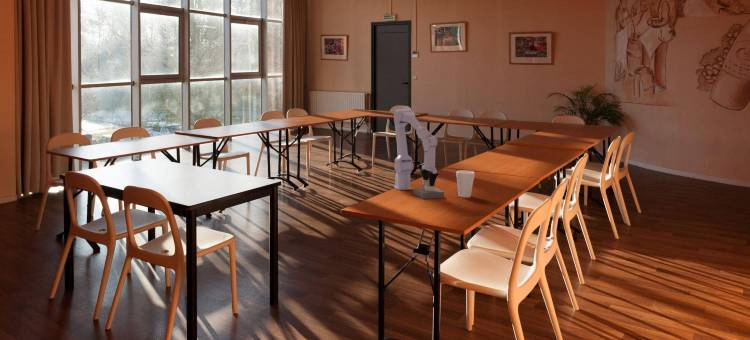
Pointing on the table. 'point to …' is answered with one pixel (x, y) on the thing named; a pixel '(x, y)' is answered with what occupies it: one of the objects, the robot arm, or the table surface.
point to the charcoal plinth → (428, 193)
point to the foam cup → (465, 182)
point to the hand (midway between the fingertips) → (428, 184)
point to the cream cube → (427, 186)
